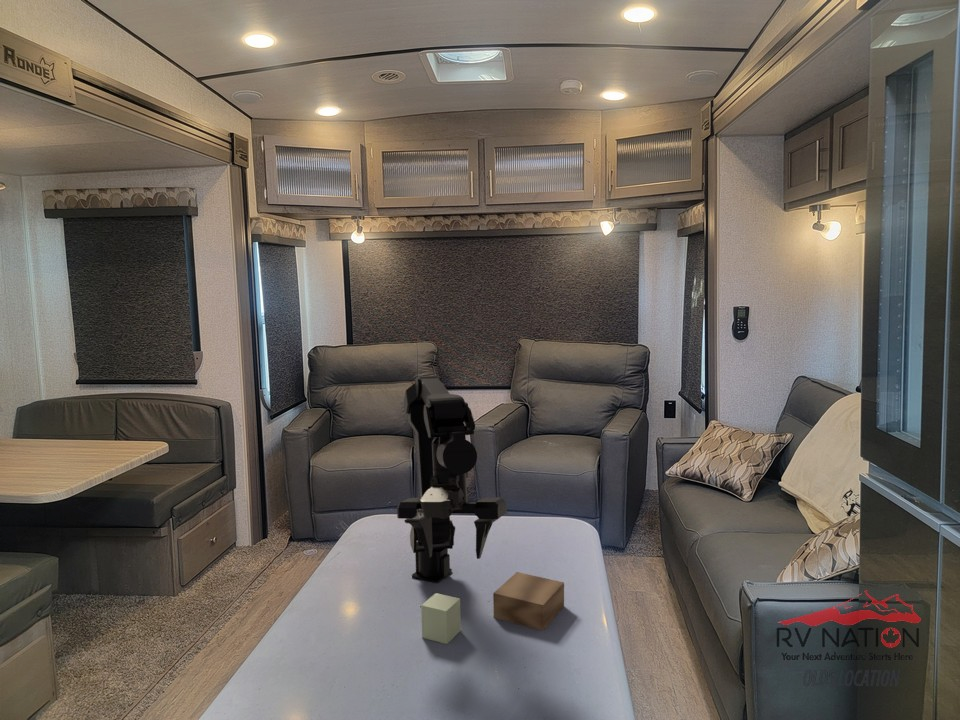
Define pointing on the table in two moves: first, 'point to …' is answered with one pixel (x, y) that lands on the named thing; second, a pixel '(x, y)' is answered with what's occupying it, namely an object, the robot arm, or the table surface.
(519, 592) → the walnut block
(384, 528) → the table surface
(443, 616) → the sage block
